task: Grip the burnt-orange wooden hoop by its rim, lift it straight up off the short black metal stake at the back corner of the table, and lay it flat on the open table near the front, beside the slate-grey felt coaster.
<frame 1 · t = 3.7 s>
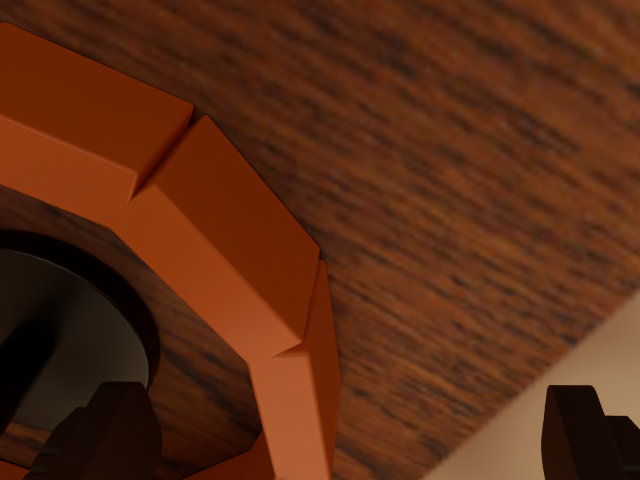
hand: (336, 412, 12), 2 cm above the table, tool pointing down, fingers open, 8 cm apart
stake: (45, 329, 15), on the table
hoop: (45, 329, 15), on the table
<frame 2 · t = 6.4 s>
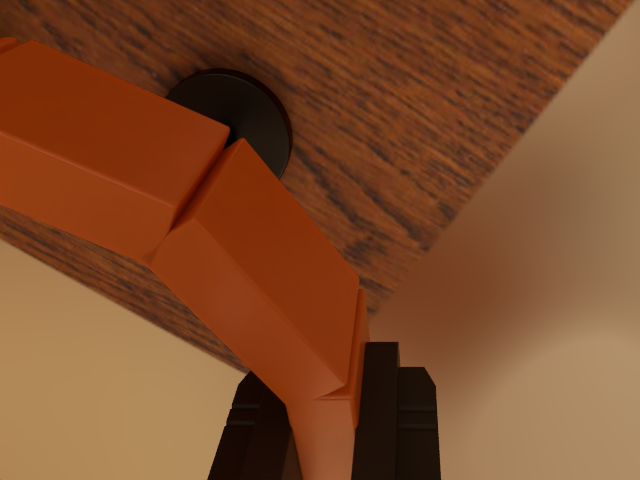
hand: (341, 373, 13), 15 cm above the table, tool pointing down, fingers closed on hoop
stake: (227, 134, 26), on the table
hoop: (67, 355, 14), point 15 cm above the table, touching gripper
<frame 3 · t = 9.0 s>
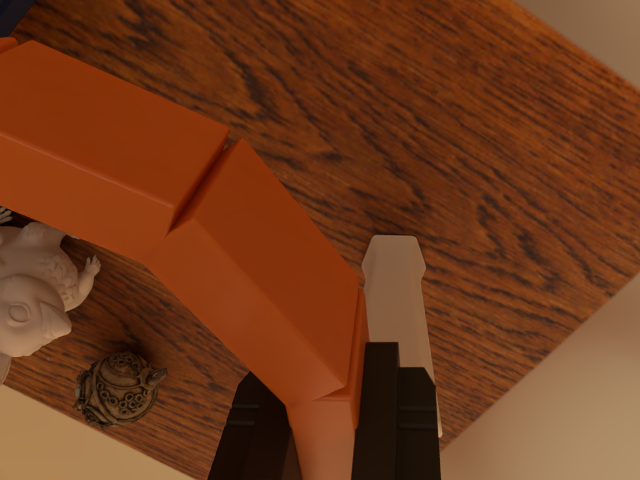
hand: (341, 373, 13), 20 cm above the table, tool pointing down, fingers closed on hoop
pendant: (138, 360, 43), on the table
perfume bottle: (393, 260, 35), on the table
figurine: (24, 247, 38), on the table
hoop: (66, 356, 14), point 20 cm above the table, touching gripper
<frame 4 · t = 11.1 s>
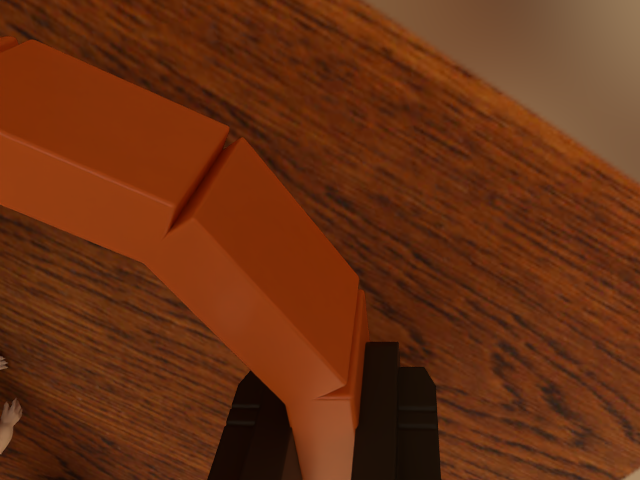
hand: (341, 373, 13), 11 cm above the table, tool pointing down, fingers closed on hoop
hoop: (66, 355, 14), point 10 cm above the table, touching gripper
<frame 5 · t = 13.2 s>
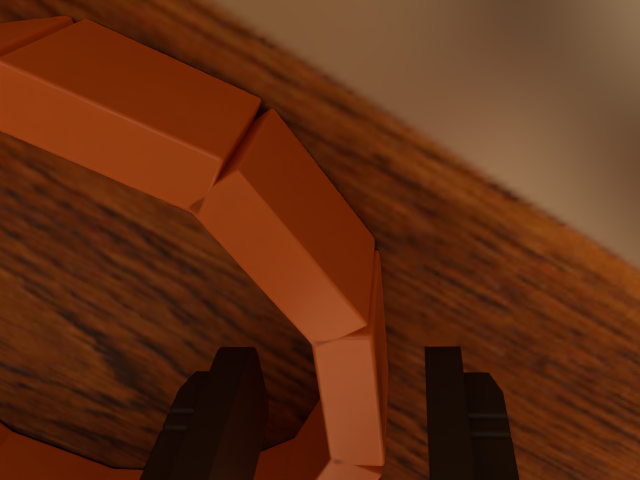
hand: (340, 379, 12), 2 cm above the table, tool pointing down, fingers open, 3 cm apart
hoop: (102, 316, 15), on the table
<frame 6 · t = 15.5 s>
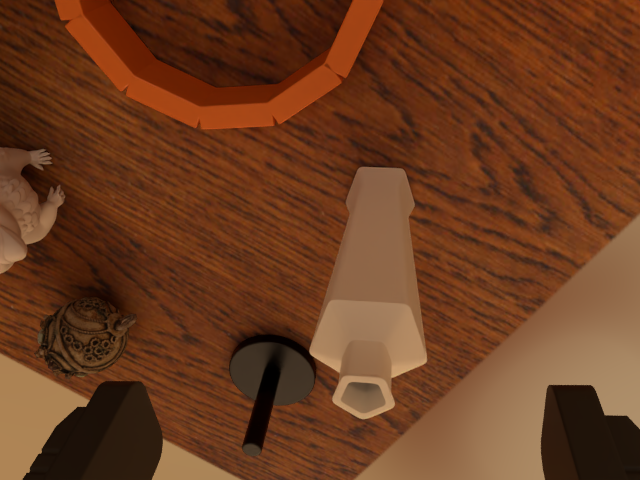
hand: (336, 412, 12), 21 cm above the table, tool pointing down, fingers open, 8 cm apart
pendant: (107, 308, 40), on the table
perfume bottle: (380, 196, 33), on the table
stake: (273, 367, 41), on the table
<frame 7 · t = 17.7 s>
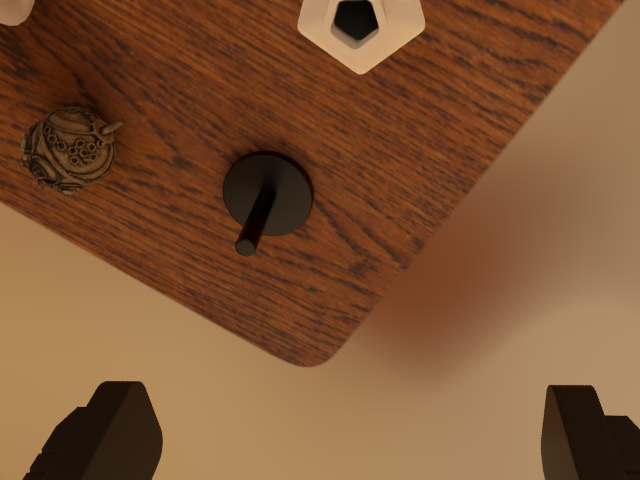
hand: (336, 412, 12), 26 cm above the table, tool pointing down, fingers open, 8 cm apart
pendant: (95, 131, 39), on the table
stake: (269, 191, 39), on the table
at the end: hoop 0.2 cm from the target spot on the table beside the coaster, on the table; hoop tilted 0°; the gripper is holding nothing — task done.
